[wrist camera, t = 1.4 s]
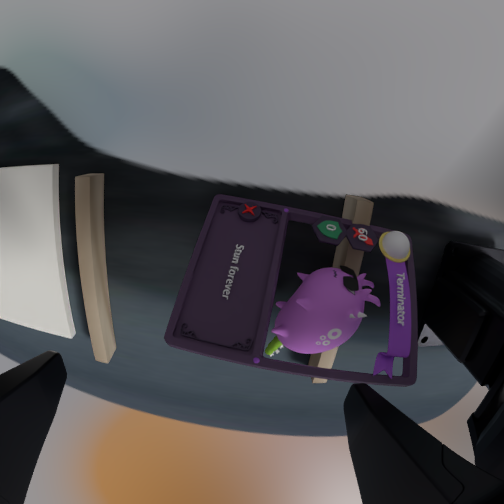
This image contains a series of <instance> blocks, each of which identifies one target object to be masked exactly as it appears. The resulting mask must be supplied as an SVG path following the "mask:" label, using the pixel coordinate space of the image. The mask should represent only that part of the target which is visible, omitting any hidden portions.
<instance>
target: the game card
mask: <svg viewBox="0 0 504 504" xmlns="http://www.w3.org/2000/svg"><path fill="white" fill-rule="evenodd" d="M289 220H293V221H297V222H302V223H307V224H312V229H313V231H314V233H315V234H316V236H317V238H318V240H319V242H322V243H327V244H332V245H337V246H338V245H339V244H340V243H341V241H342V240H343V239H344V238H345V237H346V238H347V240H348V241H349V243H350V245H351V247H352V249H355V250H360V251H365V252H369V253H370V252H371V251H372V249H373V248H374V246H375V245H376V244H377V242H378V241H379V247H380V250H381V252H382V253H383V255H384V256H385V258H386V265H387V271H388V278H389V288H390V329H389V343H388V351H387V353H384V352H380V353H378V355H377V357H376V361H375V366H374V372H373V374H368V373H359V372H351V371H343V370H335V369H328V368H321V367H314V366H308V365H302V364H296V363H290V362H284V361H279V360H273V359H268V358H265V357H264V356H263V351H264V346H265V341H266V337H267V332H268V327H269V322H270V317H271V312H272V307H273V302H274V296H275V291H276V286H277V281H278V275H279V270H280V265H281V259H282V254H283V248H284V243H285V237H286V232H287V226H288V221H289ZM378 239H379V240H378ZM340 268H341V269H339V268H332V267H329V268H322V269H319V270H316V271H314V272H312V273H311V274H304V273H297V275H298V276H299V277H300V278H301V279H302V281H303V282H302V284H301V285H300V287H299V288H298V289H297V291H296V292H295V293H294V294H293V295H292V297H291V298H290V299H289V300H288V301H287V302H283V301H278V302H276V306H278V307H279V308H281V310H280V312H279V314H278V316H277V318H276V321H275V328H273V329H272V332H273V333H275V334H276V335H277V336H275V337H274V339H273V340H272V341H271V342H270V343H269V344H268V347H267V348H266V349H265V353H266V354H268V355H270V356H271V355H274V354H273V352H274V351H275V352H276V353H277V354H278V352H280V351H279V350H278V347H280V349H281V347H283V345H284V346H285V347H287V348H288V349H290V350H292V351H295V352H298V353H304V354H315V353H321V352H325V351H328V350H331V349H333V348H335V347H337V346H339V345H341V344H343V343H344V342H345V341H347V340H348V339H349V338H350V337H351V336H352V335H353V334H354V333H355V331H356V330H357V328H358V327H359V325H360V323H361V320H362V317H367V315H365V314H363V313H364V304H365V301H370V302H372V303H374V304H376V305H377V306H378V307H380V300H379V299H378V298H377V297H375V296H373V295H371V294H369V293H371V292H372V290H371V289H362V287H363V286H370V287H371V288H374V283H373V282H371V281H368V280H364V277H365V276H366V273H363V274H360V275H359V276H357V277H356V274H355V272H354V270H352V269H350V268H348V267H346V266H341V265H340ZM164 339H165V341H166V343H167V344H168V345H169V346H171V347H174V348H178V349H181V350H185V351H189V352H193V353H196V354H200V355H204V356H208V357H212V358H216V359H220V360H225V361H229V362H233V363H238V364H242V365H247V366H252V367H257V368H262V369H267V370H272V371H278V372H283V373H289V374H295V375H301V376H307V377H314V378H321V379H328V380H336V381H344V382H353V383H365V384H374V385H386V386H401V387H407V386H410V385H413V384H414V383H415V382H416V378H417V352H418V322H417V295H416V280H415V268H414V257H413V248H412V240H411V237H410V236H409V235H408V234H406V233H402V232H399V231H394V230H390V229H386V228H382V227H378V226H374V225H370V226H368V225H364V224H353V223H352V220H348V219H344V218H339V217H335V216H330V215H326V214H321V213H316V212H312V211H307V210H302V209H297V208H292V207H287V206H282V205H277V204H272V203H267V202H262V201H256V200H251V199H245V198H240V197H234V196H228V195H222V194H218V195H216V196H215V197H214V199H213V201H212V204H211V206H210V209H209V212H208V214H207V217H206V219H205V222H204V225H203V227H202V230H201V232H200V235H199V238H198V240H197V243H196V246H195V248H194V251H193V254H192V257H191V259H190V262H189V265H188V268H187V271H186V273H185V276H184V279H183V282H182V285H181V288H180V290H179V293H178V296H177V299H176V302H175V305H174V308H173V311H172V314H171V317H170V320H169V323H168V326H167V329H166V332H165V336H164ZM394 357H403V374H402V376H392V367H393V360H394ZM383 370H384V371H386V373H387V375H378V373H380V372H381V371H383Z"/></svg>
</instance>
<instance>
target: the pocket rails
mask: <svg viewBox="0 0 504 504" xmlns="http://www.w3.org/2000/svg"><path fill="white" fill-rule="evenodd" d="M373 205H374V202H371V201H369V200H367V199H365V198H362V197H359V196H353V195H346V196H345V202H344V208H343V214H342V218H344V219H348V220H352V223H353V224H364V225H368V226H370V221H371V216H372V210H373ZM75 213H76V234H77V247H78V258H79V268H80V277H81V285H82V292H83V299H84V305H85V311H86V317H87V322H88V327H89V332H90V337H91V342H92V347H93V351H94V355H95V360H96V361H99V362H104V363H109V361H110V359H111V357H112V355H113V353H114V351H115V350H116V343H115V337H114V330H113V323H112V316H111V309H110V300H109V291H108V281H107V270H106V256H105V237H104V173H90V174H85V175H81V176H76V177H75ZM363 254H364V251H360V250H355V249H352V247H351V245H350V243H349V241H348V240H347V238H346V237H345V238H344V239H343V240H342V241H341V243H340V244H339V245H338V246H336V252H335V256H334V261H333V266H332V268H339V269H341V268H340V265H341V266H346V267H348V268H350V269H352V270H354V272H355V274H356V277H357V276H358V275H359V271H360V267H361V263H362V258H363ZM337 349H338V346H337V347H335V348H333V349H331V350H328V351H325V352H321V353H315V354H311V356H310V360H309V363H308V366H314V367H321V368H328V369H331V367H332V364H333V361H334V358H335V355H336V352H337ZM311 379H312V383H326V382H327V379H321V378H314V377H311Z"/></svg>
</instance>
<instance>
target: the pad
mask: <svg viewBox="0 0 504 504" xmlns="http://www.w3.org/2000/svg"><path fill="white" fill-rule="evenodd" d="M0 319H4V320H7V321H10V322H13V323H16V324H19V325H23V326H26V327H29V328H33V329H36V330H40V331H44V332H47V333H51V334H55V335H59V336H63V337H67V338H71V339H72V338H73V336H74V335H75V334H76V332H75V328H74V323H73V318H72V313H71V308H70V303H69V297H68V291H67V284H66V278H65V270H64V262H63V254H62V243H61V231H60V215H59V164H45V165H28V166H14V167H2V168H0Z"/></svg>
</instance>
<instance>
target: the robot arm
mask: <svg viewBox="0 0 504 504" xmlns="http://www.w3.org/2000/svg"><path fill="white" fill-rule="evenodd" d="M453 249H454V251H453ZM452 251H453V253H452ZM423 337H424V338H423ZM422 338H423V339H422ZM436 345H445V346H446V347H447V349H448V350H449V351H450V352H451V353H452V354H453V356H454V357H455V358H456V359H457V360H458V361H459V362H460V363H463V365H464V366H465V367H466V368H467V369H468V371H469V372H470V373H471V374H472V375H473V377H474V378H475V379H476V380H477V382H478V383H479V384H480V385H481V386H486V387H487V388H488V390H489V391H488V393H487V394H486V396H485V398H484V399H483V400H482V402H481V404H480V405H479V407H478V408H477V410H476V411H475V412H474V413H472V414H471V416H470V417H469V419H468V420H467V424H468V428H469V432H470V436H471V441H472V445H473V451H474V456H475V465H473V464H472V463H470V462H469V461H467V460H465V459H464V458H462V457H461V456H459V455H458V454H456V453H455V452H454V451H452V450H451V449H449V448H448V447H447V446H445V445H444V444H442V443H441V442H440V441H439V440H437V439H436V438H435V437H433V436H432V435H431V434H430V433H428V432H427V431H426V430H424V429H423V428H422V427H420V426H419V425H418V424H416V423H415V422H414V421H413V420H411V419H410V418H409V417H407V416H406V415H405V414H404V413H402V412H401V411H400V410H399V409H397V408H396V407H395V406H393V405H392V404H391V403H390V402H388V401H387V400H386V399H385V398H383V397H382V396H381V395H380V394H378V393H377V392H376V391H375V390H373V389H372V388H371V387H370V386H368V385H367V384H365V383H355V384H353V385H352V386H351V387H350V389H349V392H348V394H347V396H346V399H345V401H344V414H345V422H346V429H347V436H348V444H349V449H350V454H351V458H352V462H353V466H354V470H355V474H356V477H357V482H358V486H359V490H360V494H361V499H362V503H363V504H504V250H502V249H497V248H492V247H486V246H481V245H475V244H470V243H464V242H458V241H450V242H449V243H448V244H447V245H446V247H445V250H444V254H443V257H442V261H441V264H440V268H439V271H438V274H437V278H436V281H435V284H434V287H433V290H432V293H431V296H430V299H429V302H428V305H427V307H426V310H425V313H424V316H423V318H422V321H421V323H420V326H419V329H418V346H420V347H425V346H436ZM66 379H67V372H66V369H65V366H64V362H63V359H62V356H61V355H60V353H58V352H54V351H50V350H49V351H46V352H44V353H42V354H40V355H38V356H36V357H34V358H32V359H30V360H28V361H26V362H24V363H22V364H20V365H18V366H17V367H15V368H12V369H10V370H8V371H6V372H5V373H2V374H1V375H0V504H24V501H25V497H26V493H27V490H28V487H29V484H30V481H31V478H32V475H33V472H34V469H35V466H36V463H37V460H38V458H39V455H40V452H41V449H42V447H43V444H44V441H45V439H46V436H47V434H48V431H49V429H50V426H51V424H52V421H53V419H54V416H55V413H56V410H57V407H58V404H59V401H60V397H61V394H62V391H63V388H64V385H65V382H66Z"/></svg>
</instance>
